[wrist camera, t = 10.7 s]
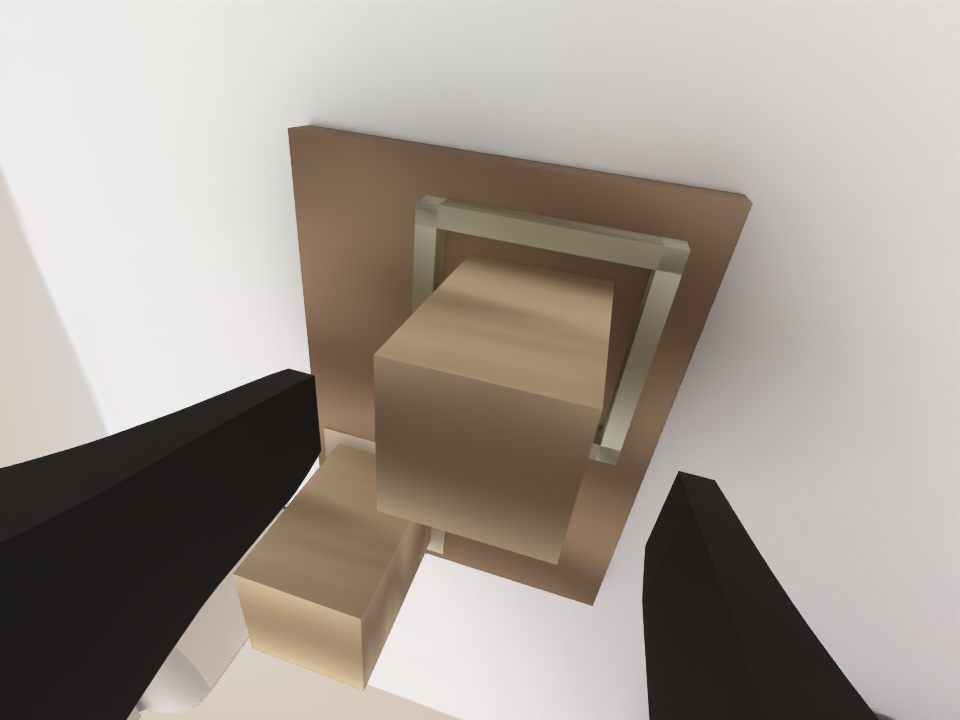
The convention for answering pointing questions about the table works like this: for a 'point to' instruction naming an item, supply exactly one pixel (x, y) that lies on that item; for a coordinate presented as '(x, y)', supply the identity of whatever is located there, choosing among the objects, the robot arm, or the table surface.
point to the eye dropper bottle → (200, 651)
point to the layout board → (397, 295)
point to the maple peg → (493, 403)
